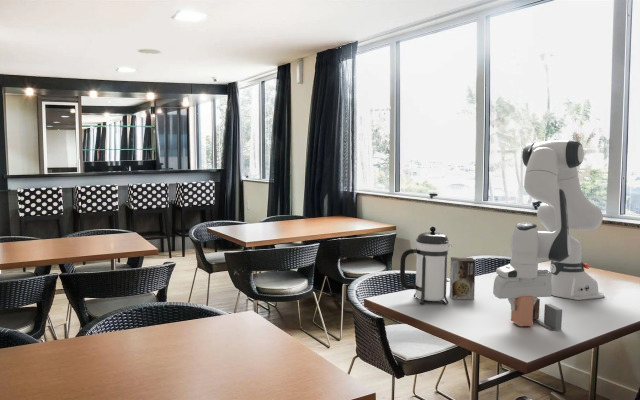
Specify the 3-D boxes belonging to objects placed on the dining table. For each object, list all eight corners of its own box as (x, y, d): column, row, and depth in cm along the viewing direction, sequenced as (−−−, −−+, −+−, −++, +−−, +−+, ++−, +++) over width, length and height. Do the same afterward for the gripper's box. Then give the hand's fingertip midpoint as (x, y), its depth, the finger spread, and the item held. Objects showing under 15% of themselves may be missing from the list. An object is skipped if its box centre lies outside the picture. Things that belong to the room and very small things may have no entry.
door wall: (526, 310, 198) (527, 292, 197) (561, 330, 176) (562, 309, 175) (516, 310, 197) (516, 292, 196) (549, 330, 175) (550, 310, 175)
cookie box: (471, 295, 218) (472, 257, 216) (474, 300, 211) (476, 260, 210) (449, 294, 219) (450, 256, 217) (451, 299, 212) (452, 259, 211)
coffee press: (423, 293, 220) (425, 222, 218) (456, 301, 209) (459, 226, 206) (398, 301, 208) (400, 226, 205) (432, 310, 197) (435, 231, 194)
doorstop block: (522, 320, 184) (524, 292, 183) (532, 325, 178) (533, 296, 177) (511, 320, 183) (512, 292, 183) (519, 326, 178) (521, 297, 177)
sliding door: (525, 311, 194) (526, 292, 193) (538, 319, 185) (539, 299, 184) (503, 312, 193) (504, 293, 192) (516, 319, 184) (517, 299, 183)
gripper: (546, 267, 184) (544, 305, 185) (491, 269, 181) (490, 308, 182) (557, 271, 178) (555, 311, 179) (500, 273, 174) (499, 313, 176)
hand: (521, 309), depth 180 cm, fingers closed on doorstop block, 4 cm apart
